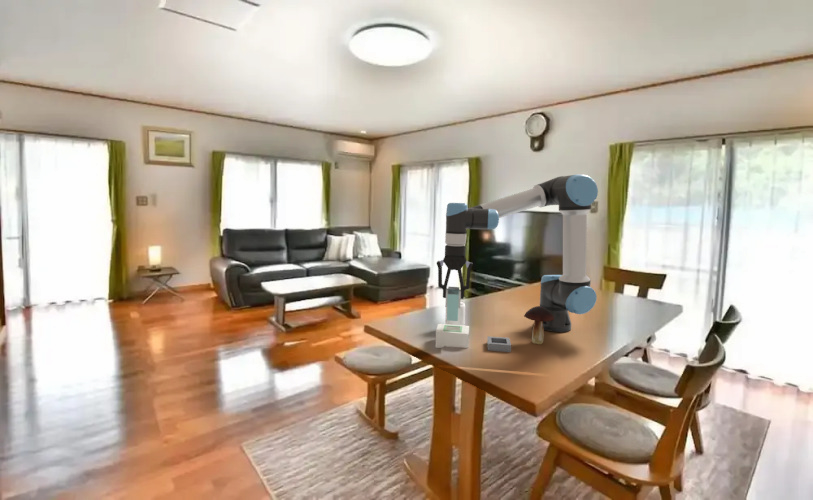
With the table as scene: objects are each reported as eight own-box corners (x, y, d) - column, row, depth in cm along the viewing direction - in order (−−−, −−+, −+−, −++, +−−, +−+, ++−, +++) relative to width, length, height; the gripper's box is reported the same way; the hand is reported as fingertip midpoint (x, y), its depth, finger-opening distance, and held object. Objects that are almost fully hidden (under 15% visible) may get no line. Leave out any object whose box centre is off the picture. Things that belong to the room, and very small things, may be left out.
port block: (468, 340, 155) (469, 325, 155) (468, 349, 146) (468, 333, 145) (437, 338, 157) (438, 323, 157) (435, 347, 148) (435, 331, 147)
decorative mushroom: (519, 339, 158) (521, 302, 156) (547, 340, 157) (549, 303, 156) (526, 349, 147) (529, 309, 145) (557, 350, 147) (559, 310, 145)
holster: (508, 346, 150) (509, 337, 150) (510, 354, 142) (511, 345, 142) (487, 344, 151) (487, 336, 151) (487, 352, 144) (488, 343, 143)
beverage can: (463, 333, 164) (464, 304, 163) (444, 331, 166) (445, 303, 165) (464, 327, 172) (465, 300, 171) (446, 326, 174) (447, 299, 173)
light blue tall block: (458, 318, 152) (459, 287, 151) (457, 321, 148) (458, 289, 147) (447, 317, 153) (448, 286, 151) (446, 320, 149) (448, 288, 147)
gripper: (478, 244, 149) (476, 305, 152) (433, 243, 152) (431, 302, 155) (479, 246, 142) (476, 311, 145) (431, 244, 145) (429, 307, 148)
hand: (452, 306), depth 150 cm, fingers closed on light blue tall block, 4 cm apart
